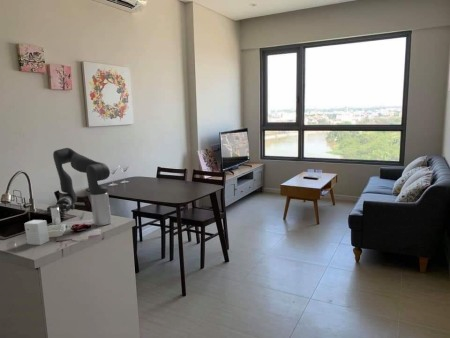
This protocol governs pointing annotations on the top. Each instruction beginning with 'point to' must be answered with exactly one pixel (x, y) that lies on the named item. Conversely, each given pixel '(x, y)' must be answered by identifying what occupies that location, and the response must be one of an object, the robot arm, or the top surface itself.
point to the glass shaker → (55, 214)
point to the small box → (36, 232)
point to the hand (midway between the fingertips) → (58, 210)
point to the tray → (56, 230)
